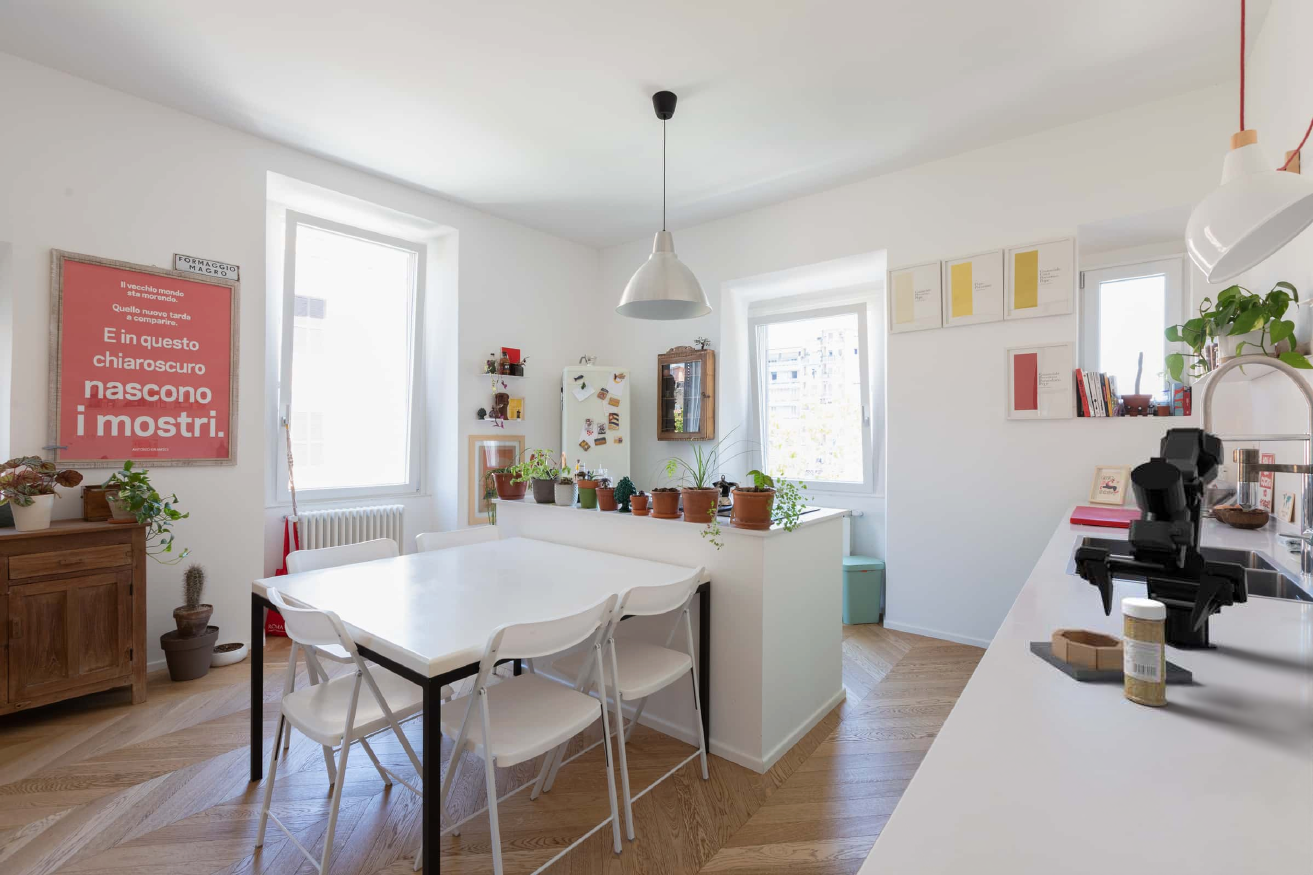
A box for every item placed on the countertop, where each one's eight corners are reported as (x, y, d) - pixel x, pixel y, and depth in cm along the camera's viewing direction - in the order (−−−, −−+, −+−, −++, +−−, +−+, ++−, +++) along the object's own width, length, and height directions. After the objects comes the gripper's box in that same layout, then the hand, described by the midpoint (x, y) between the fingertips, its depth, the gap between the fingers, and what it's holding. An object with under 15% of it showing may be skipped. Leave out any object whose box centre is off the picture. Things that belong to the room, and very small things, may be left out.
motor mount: (1130, 652, 97) (1130, 625, 97) (1192, 682, 85) (1192, 651, 85) (1030, 650, 98) (1029, 623, 98) (1076, 680, 86) (1076, 649, 86)
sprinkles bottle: (1171, 701, 79) (1171, 602, 79) (1159, 710, 76) (1158, 607, 76) (1129, 689, 83) (1129, 594, 83) (1117, 697, 80) (1116, 599, 80)
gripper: (1077, 494, 92) (1056, 575, 85) (1245, 504, 78) (1238, 602, 71) (1090, 539, 97) (1072, 618, 90) (1250, 555, 83) (1244, 651, 76)
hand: (1147, 621), depth 81 cm, fingers open, 9 cm apart
